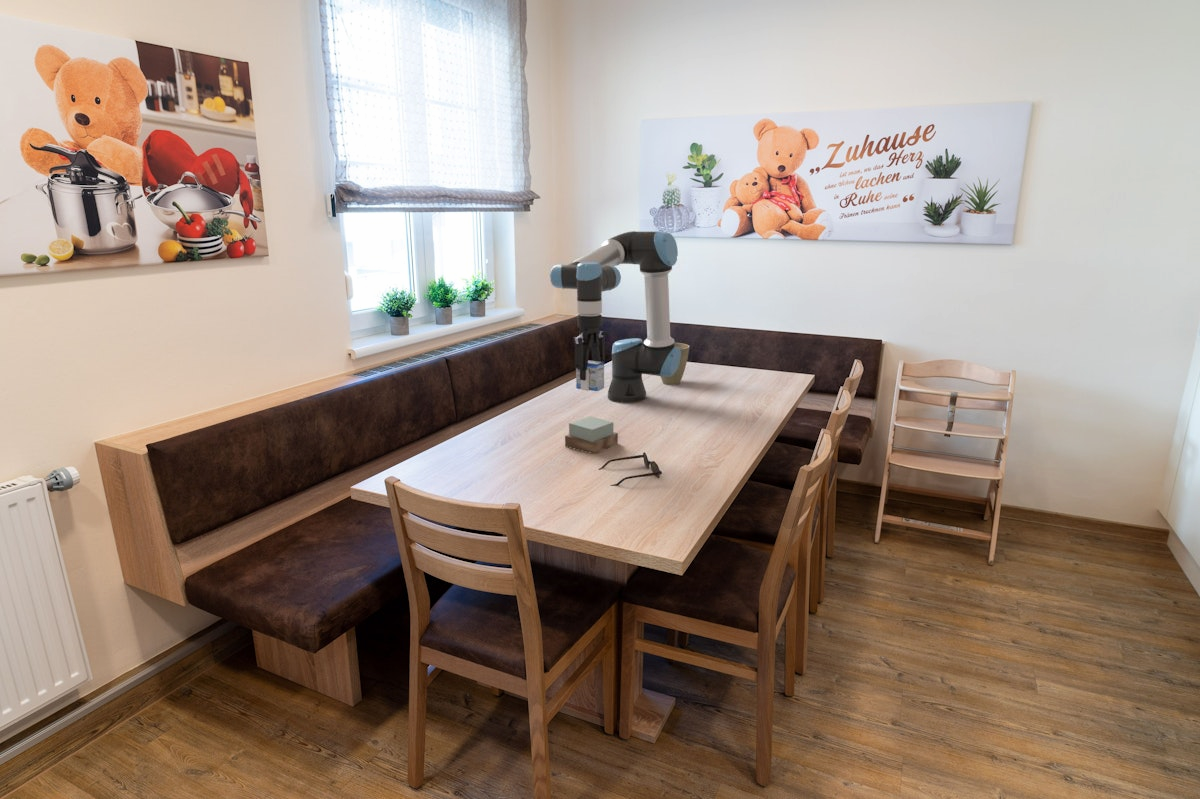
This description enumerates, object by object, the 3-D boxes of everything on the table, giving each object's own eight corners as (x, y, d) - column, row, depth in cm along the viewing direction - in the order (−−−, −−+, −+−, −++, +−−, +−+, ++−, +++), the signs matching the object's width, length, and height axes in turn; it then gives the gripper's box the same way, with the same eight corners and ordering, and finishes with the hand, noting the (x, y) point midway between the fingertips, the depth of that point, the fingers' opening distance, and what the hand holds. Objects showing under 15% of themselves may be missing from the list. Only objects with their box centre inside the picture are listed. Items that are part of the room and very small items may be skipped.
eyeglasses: (661, 482, 201) (662, 465, 200) (611, 488, 197) (611, 471, 196) (643, 464, 215) (644, 448, 213) (596, 469, 211) (596, 453, 209)
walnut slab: (588, 438, 238) (588, 426, 237) (617, 445, 232) (617, 433, 230) (565, 447, 229) (565, 436, 228) (595, 455, 222) (595, 443, 221)
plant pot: (664, 376, 315) (665, 341, 311) (694, 381, 307) (695, 344, 303) (646, 384, 304) (647, 346, 299) (677, 389, 295) (678, 351, 291)
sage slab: (590, 427, 236) (590, 416, 235) (613, 434, 230) (613, 422, 229) (569, 435, 229) (569, 423, 228) (592, 441, 222) (592, 429, 221)
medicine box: (575, 388, 226) (575, 361, 223) (582, 385, 229) (582, 358, 227) (597, 391, 222) (597, 364, 220) (604, 388, 226) (604, 361, 223)
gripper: (597, 309, 228) (598, 380, 235) (561, 316, 214) (562, 392, 221) (616, 311, 224) (616, 383, 230) (580, 319, 210) (582, 396, 217)
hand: (590, 387), depth 226 cm, fingers closed on medicine box, 5 cm apart
